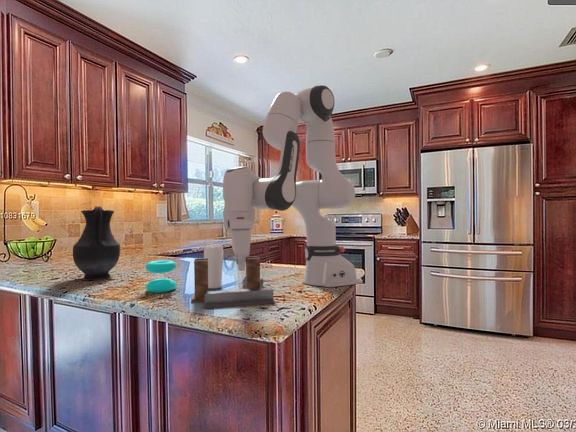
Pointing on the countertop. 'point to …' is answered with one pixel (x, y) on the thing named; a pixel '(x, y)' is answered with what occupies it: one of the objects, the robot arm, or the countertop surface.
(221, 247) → the drinking glass
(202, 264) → the post
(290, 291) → the countertop surface
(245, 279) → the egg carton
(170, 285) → the donuts
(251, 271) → the post
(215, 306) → the grey flat bar
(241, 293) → the rail
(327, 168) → the robot arm
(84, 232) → the pitcher
